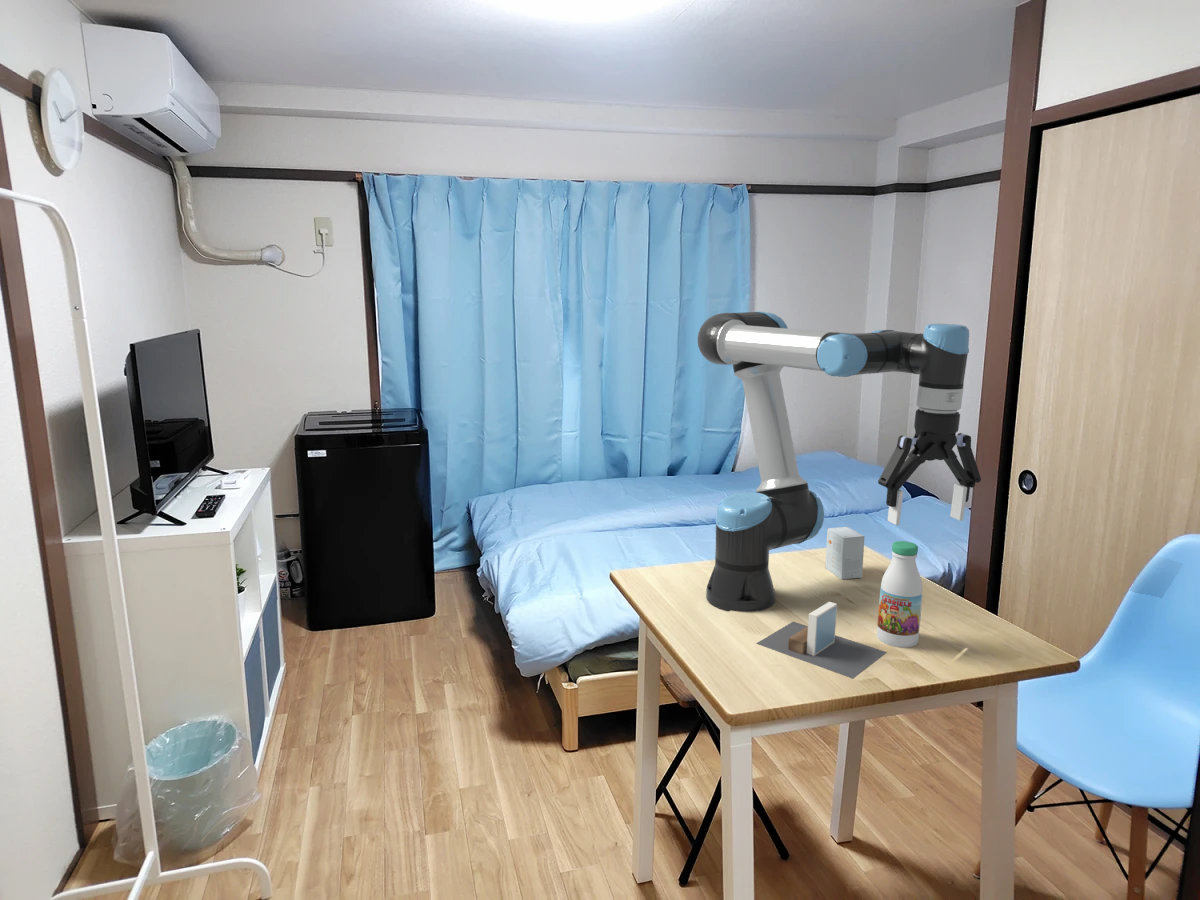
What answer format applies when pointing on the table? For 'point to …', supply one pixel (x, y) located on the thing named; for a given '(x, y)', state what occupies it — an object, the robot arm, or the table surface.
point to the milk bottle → (900, 598)
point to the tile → (821, 628)
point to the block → (799, 641)
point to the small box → (844, 552)
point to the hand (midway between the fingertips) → (925, 520)
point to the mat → (827, 652)
